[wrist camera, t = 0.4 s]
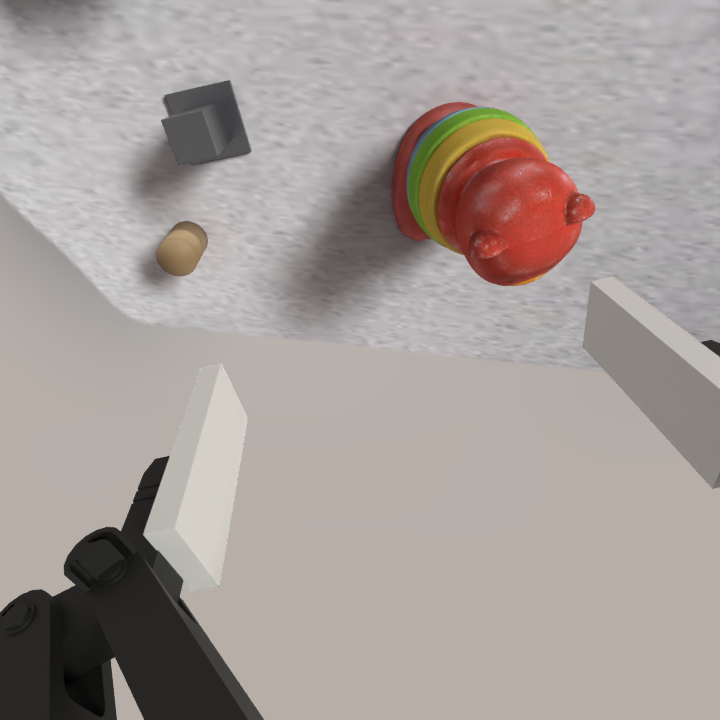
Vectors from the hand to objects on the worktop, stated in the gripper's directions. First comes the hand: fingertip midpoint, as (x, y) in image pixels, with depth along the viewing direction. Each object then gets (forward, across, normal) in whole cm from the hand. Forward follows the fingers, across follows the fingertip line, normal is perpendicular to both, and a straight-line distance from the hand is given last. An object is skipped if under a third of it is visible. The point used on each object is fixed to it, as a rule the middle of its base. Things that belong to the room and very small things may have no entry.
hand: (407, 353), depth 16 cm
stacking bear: (+26, +8, -1) cm, 27 cm away
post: (+26, -10, +6) cm, 28 cm away
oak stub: (+26, -15, -2) cm, 30 cm away
